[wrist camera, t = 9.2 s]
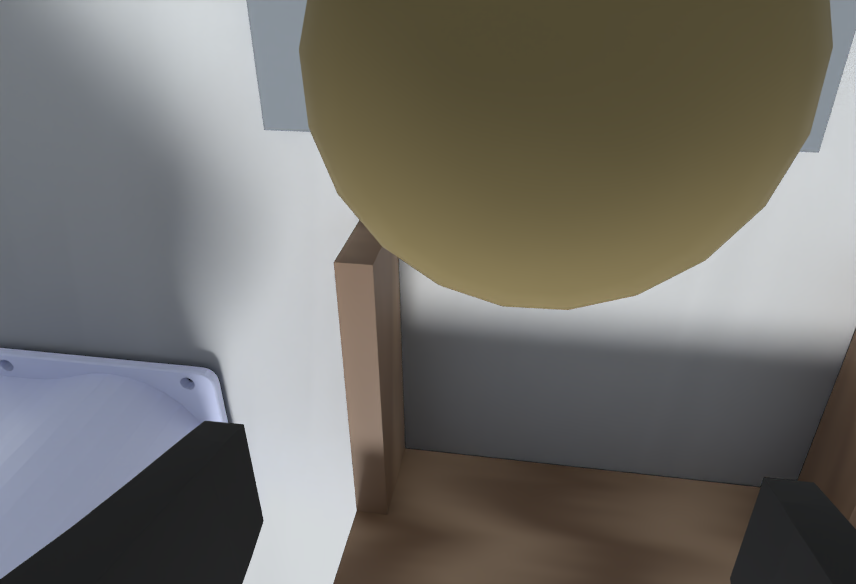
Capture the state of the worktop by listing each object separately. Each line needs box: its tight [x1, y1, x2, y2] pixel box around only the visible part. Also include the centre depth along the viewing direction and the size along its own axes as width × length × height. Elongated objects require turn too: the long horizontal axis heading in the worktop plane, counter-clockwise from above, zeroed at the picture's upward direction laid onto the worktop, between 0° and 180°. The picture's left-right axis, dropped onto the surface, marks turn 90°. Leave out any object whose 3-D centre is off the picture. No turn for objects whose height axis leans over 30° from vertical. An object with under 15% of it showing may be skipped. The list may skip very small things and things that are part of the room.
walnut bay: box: [333, 220, 856, 584], centre depth 18 cm, size 15×10×6 cm, turn 90°
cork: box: [299, 0, 833, 310], centre depth 10 cm, size 6×6×11 cm
